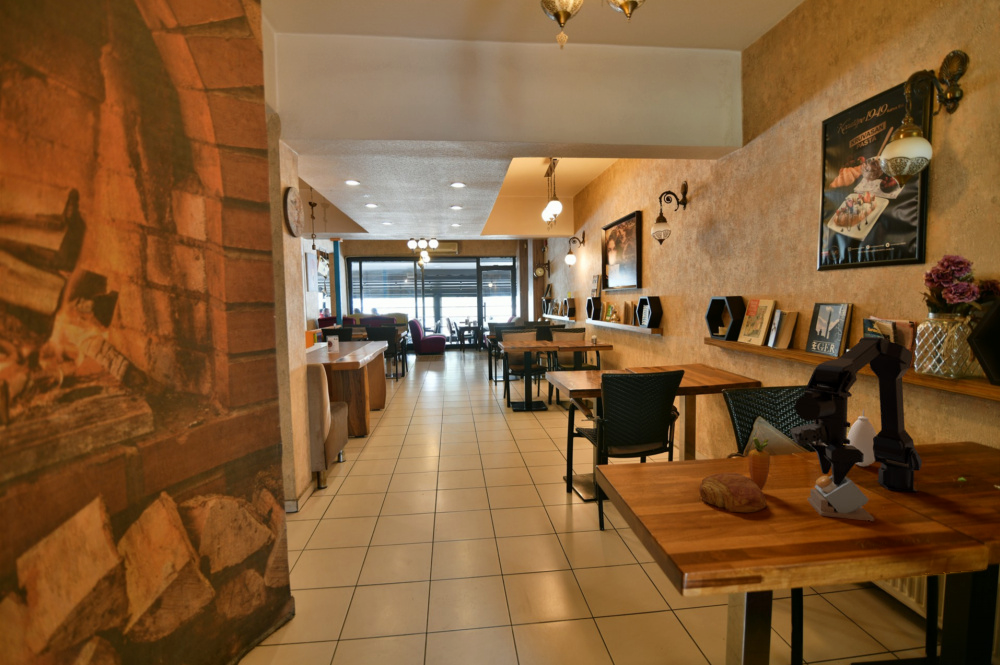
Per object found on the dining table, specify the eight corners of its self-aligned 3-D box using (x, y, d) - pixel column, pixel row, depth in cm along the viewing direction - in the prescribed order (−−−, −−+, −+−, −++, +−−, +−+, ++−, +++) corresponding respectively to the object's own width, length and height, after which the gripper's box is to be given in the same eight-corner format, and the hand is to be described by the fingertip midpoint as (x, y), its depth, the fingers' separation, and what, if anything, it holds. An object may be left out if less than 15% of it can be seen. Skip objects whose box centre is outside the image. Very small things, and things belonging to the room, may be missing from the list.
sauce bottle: (881, 471, 138) (883, 412, 137) (849, 467, 141) (851, 410, 140) (873, 463, 145) (875, 407, 144) (843, 460, 148) (844, 405, 147)
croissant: (691, 500, 124) (687, 471, 123) (746, 490, 125) (742, 461, 124) (722, 524, 109) (717, 491, 109) (783, 512, 110) (778, 479, 110)
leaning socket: (856, 505, 114) (857, 471, 114) (873, 521, 106) (875, 484, 105) (807, 500, 117) (808, 467, 117) (820, 515, 109) (821, 479, 108)
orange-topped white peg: (846, 496, 112) (825, 473, 114) (852, 502, 109) (830, 478, 110) (834, 504, 113) (813, 481, 114) (840, 509, 110) (818, 486, 111)
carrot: (768, 490, 124) (769, 435, 123) (770, 497, 120) (771, 440, 119) (747, 487, 126) (748, 433, 126) (748, 494, 122) (749, 438, 121)
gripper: (783, 406, 122) (782, 463, 123) (807, 423, 104) (806, 489, 105) (831, 408, 119) (830, 467, 120) (865, 426, 101) (863, 495, 102)
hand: (830, 478), depth 112 cm, fingers open, 7 cm apart
